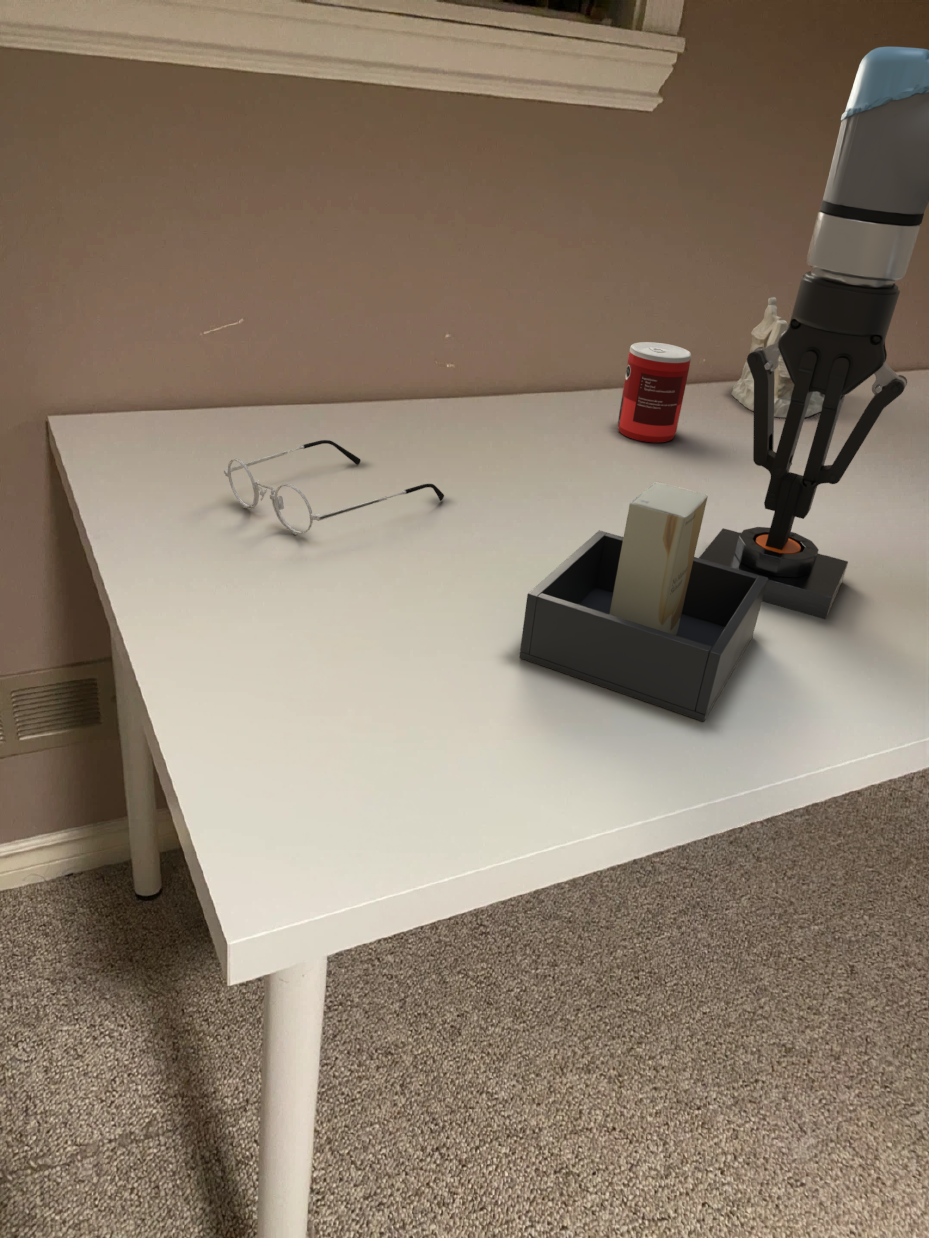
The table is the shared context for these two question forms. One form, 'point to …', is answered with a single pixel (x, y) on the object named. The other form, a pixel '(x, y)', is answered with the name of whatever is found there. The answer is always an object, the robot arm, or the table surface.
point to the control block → (782, 569)
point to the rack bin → (642, 630)
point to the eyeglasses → (278, 500)
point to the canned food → (653, 391)
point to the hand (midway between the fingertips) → (775, 544)
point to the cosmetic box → (658, 556)
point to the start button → (789, 548)
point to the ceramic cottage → (783, 385)
